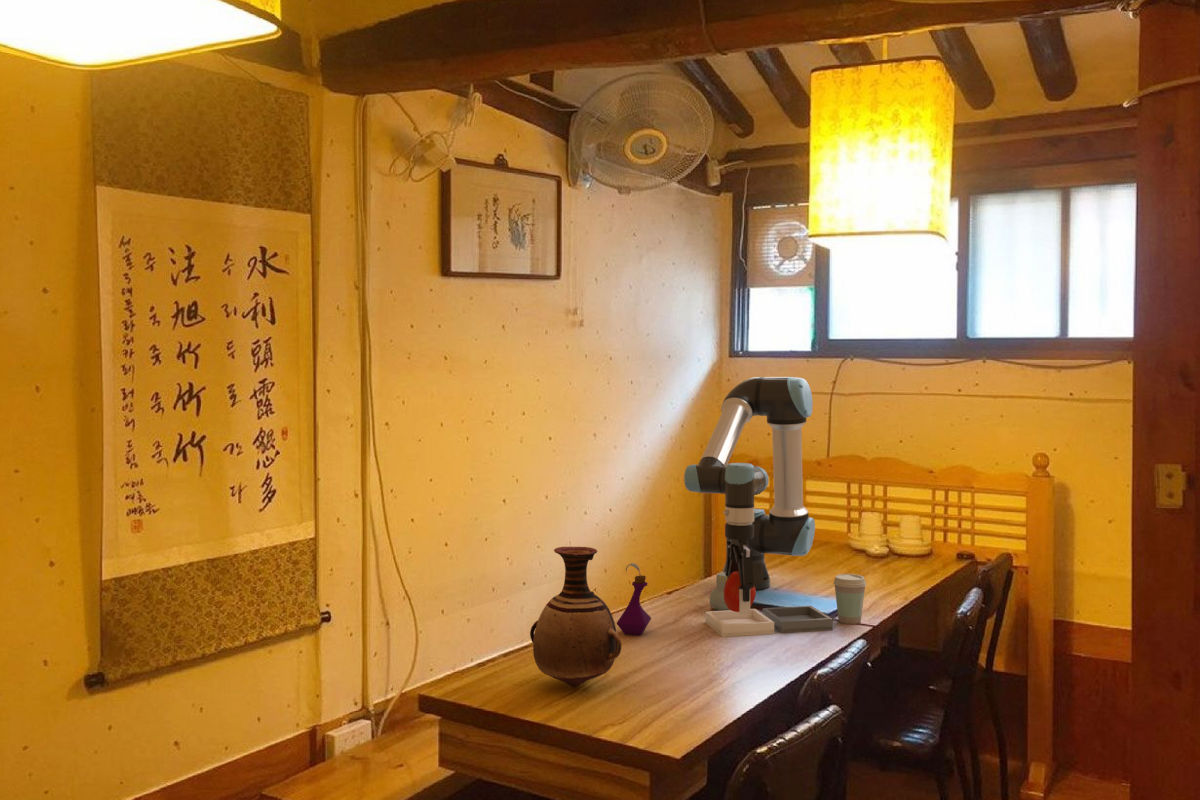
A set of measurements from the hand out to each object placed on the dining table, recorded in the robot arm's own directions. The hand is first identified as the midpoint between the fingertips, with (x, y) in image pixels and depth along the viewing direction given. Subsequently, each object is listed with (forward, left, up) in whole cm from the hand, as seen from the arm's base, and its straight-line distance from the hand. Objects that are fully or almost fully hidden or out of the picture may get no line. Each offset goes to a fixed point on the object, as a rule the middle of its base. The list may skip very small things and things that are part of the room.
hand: (739, 609), depth 268 cm
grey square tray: (0, +16, -5) cm, 17 cm away
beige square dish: (0, 0, -5) cm, 5 cm away
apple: (0, 0, 0) cm, 0 cm away
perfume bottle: (-1, -28, -5) cm, 28 cm away
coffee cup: (0, +31, -5) cm, 32 cm away
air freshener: (-19, +3, -5) cm, 20 cm away
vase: (+37, -50, -5) cm, 62 cm away
